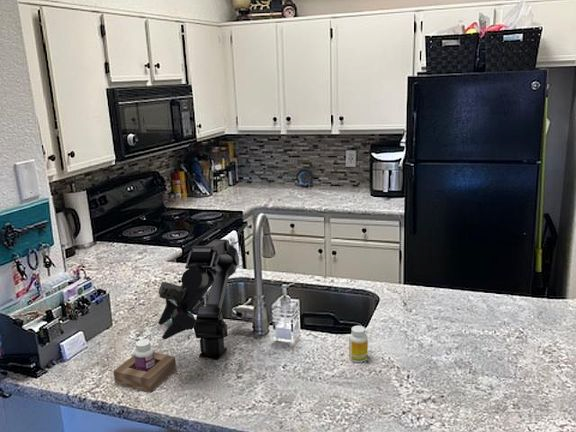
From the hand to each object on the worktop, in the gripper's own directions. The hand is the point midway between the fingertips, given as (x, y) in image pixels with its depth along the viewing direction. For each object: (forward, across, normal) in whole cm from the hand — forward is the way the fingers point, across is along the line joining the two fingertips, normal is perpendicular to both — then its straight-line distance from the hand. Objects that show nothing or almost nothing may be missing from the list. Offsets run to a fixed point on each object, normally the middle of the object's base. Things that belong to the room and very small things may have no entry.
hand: (161, 331), depth 147 cm
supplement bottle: (-28, +16, +48) cm, 58 cm away
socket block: (+13, +1, +5) cm, 14 cm away
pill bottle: (+12, +1, +4) cm, 13 cm away
